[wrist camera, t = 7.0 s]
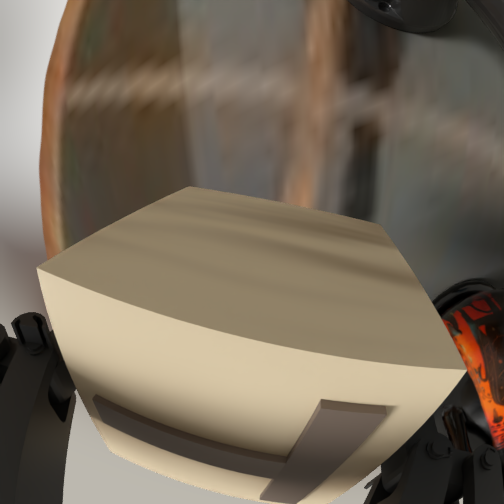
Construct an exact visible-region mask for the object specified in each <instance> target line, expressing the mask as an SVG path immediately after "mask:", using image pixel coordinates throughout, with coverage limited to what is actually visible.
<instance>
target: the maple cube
mask: <svg viewBox="0 0 504 504" xmlns="http://www.w3.org/2000/svg"><path fill="white" fill-rule="evenodd" d="M37 272H38V277H39V281H40V285H41V289H42V293H43V297H44V301H45V304H46V308H47V311H48V315H49V318H50V321H51V325H52V328H53V331H54V334H55V337H56V339H57V342H58V345H59V348H60V350H61V353H62V356H63V358H64V361H65V363H66V366H67V368H68V371H69V373H70V375H71V378H72V380H73V382H74V384H75V387H76V389H77V391H78V393H79V395H80V397H81V399H82V401H83V403H84V405H85V407H86V409H87V411H88V413H89V415H90V417H91V419H92V421H93V423H94V424H95V426H96V428H97V430H98V431H99V433H100V435H101V437H102V438H103V440H104V442H105V443H106V445H107V447H108V448H109V450H110V451H111V452H112V453H114V454H116V455H118V456H120V457H122V458H124V459H126V460H128V461H131V462H133V463H135V464H137V465H140V466H142V467H144V468H146V469H149V470H151V471H154V472H156V473H159V474H161V475H164V476H167V477H169V478H172V479H175V480H178V481H181V482H183V483H187V484H190V485H193V486H196V487H199V488H203V489H206V490H209V491H214V492H217V493H221V494H225V495H229V496H233V497H238V498H243V499H247V500H253V501H259V502H265V503H271V504H328V503H330V502H331V501H333V500H334V499H336V498H337V497H339V496H340V495H342V494H343V493H344V492H346V491H347V490H349V489H350V488H351V487H353V486H354V485H356V484H357V483H358V482H360V481H361V480H362V479H364V478H365V477H366V476H367V475H369V474H370V473H371V472H372V471H374V470H375V469H376V468H377V467H378V466H380V465H381V464H382V463H383V462H384V461H385V460H387V459H388V458H389V457H390V456H391V455H392V454H393V453H394V452H396V451H397V450H398V449H399V448H400V447H401V446H402V445H403V444H404V443H405V442H406V441H407V440H408V439H409V438H410V437H411V436H412V435H413V434H414V433H415V432H416V431H417V430H418V429H419V428H420V427H421V426H422V425H423V424H424V423H425V422H426V421H427V419H428V418H429V417H430V416H431V415H432V414H433V413H434V412H435V410H436V409H437V408H438V407H439V406H440V405H441V403H442V402H443V401H444V400H445V399H446V397H447V396H448V395H449V394H450V392H451V391H452V390H453V389H454V387H455V386H456V385H457V383H458V382H459V381H460V379H461V378H462V377H463V375H464V374H465V373H466V371H467V368H466V366H465V364H464V362H463V360H462V358H461V355H460V353H459V351H458V349H457V347H456V345H455V344H454V342H453V340H452V338H451V336H450V334H449V332H448V330H447V328H446V327H445V325H444V323H443V321H442V319H441V317H440V316H439V314H438V312H437V310H436V309H435V307H434V305H433V304H432V302H431V300H430V299H429V297H428V295H427V294H426V292H425V290H424V289H423V287H422V285H421V284H420V282H419V281H418V279H417V277H416V276H415V274H414V273H413V271H412V270H411V268H410V267H409V265H408V264H407V262H406V261H405V259H404V258H403V256H402V255H401V253H400V252H399V250H398V249H397V248H396V246H395V245H394V243H393V242H392V240H391V239H390V238H389V236H388V235H387V233H386V232H385V231H384V229H383V228H382V227H381V225H379V224H375V223H371V222H367V221H363V220H359V219H355V218H350V217H346V216H342V215H337V214H333V213H329V212H324V211H320V210H315V209H310V208H306V207H301V206H296V205H291V204H286V203H281V202H276V201H271V200H266V199H261V198H255V197H250V196H244V195H239V194H233V193H227V192H221V191H215V190H209V189H203V188H196V187H190V186H189V187H186V188H184V189H182V190H180V191H178V192H175V193H173V194H171V195H169V196H167V197H165V198H163V199H160V200H158V201H156V202H154V203H152V204H150V205H148V206H146V207H144V208H142V209H140V210H138V211H136V212H134V213H132V214H130V215H128V216H126V217H124V218H122V219H120V220H118V221H116V222H114V223H113V224H111V225H109V226H107V227H105V228H103V229H101V230H100V231H98V232H96V233H94V234H92V235H91V236H89V237H87V238H85V239H83V240H82V241H80V242H78V243H76V244H75V245H73V246H71V247H70V248H68V249H66V250H64V251H63V252H61V253H59V254H58V255H56V256H54V257H53V258H51V259H50V260H48V261H46V262H45V263H43V264H42V265H40V266H38V267H37Z"/></svg>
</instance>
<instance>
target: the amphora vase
mask: <svg viewBox="0 0 504 504" xmlns="http://www.w3.org/2000/svg"><path fill="white" fill-rule="evenodd" d="M432 304H433V305H434V307H435V309H436V310H437V312H438V314H439V316H440V317H441V319H442V321H443V323H444V325H445V327H446V328H447V330H448V332H449V334H450V336H451V338H452V340H453V342H454V344H455V345H456V347H457V349H458V351H459V353H460V355H461V358H462V360H463V362H464V364H465V366H466V368H467V371H466V373H465V374H464V375H463V377H462V378H461V379H460V381H459V382H458V383H457V385H456V386H455V387H454V389H453V390H452V391H451V392H450V394H449V395H448V396H447V397H446V399H445V400H444V401H443V402H442V403H441V405H440V406H439V407H438V408H437V409H436V410H435V412H434V413H433V415H434V419H435V423H436V427H437V431H438V433H441V434H443V435H445V436H446V437H447V438H448V439H449V440H450V441H451V443H452V445H453V448H454V449H458V450H462V451H467V452H471V453H472V452H473V451H474V450H475V449H477V448H478V447H479V446H480V445H483V444H487V445H491V446H492V447H494V448H495V449H496V450H497V452H498V453H499V456H500V460H501V467H502V477H503V489H504V289H496V288H494V287H493V286H492V285H490V284H489V283H487V282H483V281H479V280H474V281H466V282H463V283H460V284H458V285H455V286H453V287H451V288H449V289H448V290H446V291H445V292H443V293H442V294H440V295H439V296H438V297H436V298H435V299H434V300H433V301H432Z"/></svg>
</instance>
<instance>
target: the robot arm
mask: <svg viewBox="0 0 504 504" xmlns="http://www.w3.org/2000/svg"><path fill="white" fill-rule="evenodd" d="M348 1H349V2H350V3H351V4H352V5H353V6H355V7H356V8H357V9H358V10H360V11H361V12H363V13H364V14H366V15H367V16H369V17H370V18H372V19H374V20H376V21H378V22H380V23H382V24H384V25H387V26H389V27H392V28H395V29H398V30H402V31H407V32H415V33H425V32H431V31H435V30H437V29H439V28H441V27H442V26H443V25H445V24H446V23H447V22H449V21H450V20H451V19H452V17H453V16H454V14H455V12H456V9H457V5H458V0H348ZM466 2H467V3H468V4H469V5H470V6H471V7H472V8H473V10H474V11H475V12H476V13H477V15H478V16H479V17H480V18H481V20H482V21H483V22H484V24H485V25H486V26H487V28H488V29H489V30H490V32H491V33H492V34H493V36H494V37H495V39H496V40H497V42H498V43H499V45H500V46H501V48H502V49H503V51H504V0H466ZM11 324H12V327H13V329H14V332H15V335H16V337H17V339H15V338H12V337H8V334H7V332H6V329H5V327H4V326H3V325H2V324H0V504H62V502H63V486H64V474H65V464H66V456H67V449H68V441H69V436H70V430H71V424H72V418H73V413H74V409H75V404H76V395H75V393H74V391H75V390H76V387H75V384H74V382H73V380H72V378H71V375H70V373H69V371H68V368H67V366H66V363H65V361H64V358H63V356H62V353H61V350H60V348H59V345H58V342H57V339H56V337H55V334H54V331H53V330H52V331H51V332H50V331H49V329H48V325H47V322H46V319H45V317H44V316H42V315H41V314H39V313H36V312H28V313H25V314H22V315H20V316H18V317H17V318H15V319H14V320H13V322H12V323H11ZM371 485H372V487H371V489H370V492H369V494H368V496H367V498H366V500H365V502H364V504H459V499H461V498H463V504H504V489H503V477H502V467H501V460H500V456H499V453H498V452H497V450H496V449H495V448H494V447H492V446H491V445H487V444H483V445H480V446H479V447H478V448H477V449H475V450H474V451H473V452H472V453H471V452H467V451H462V450H458V449H454V448H453V445H452V443H451V441H450V440H449V439H448V438H447V437H446V436H445V435H443V434H441V433H438V431H437V427H436V423H435V419H434V415H433V414H432V415H431V416H430V417H429V418H428V419H427V421H426V422H425V423H424V424H423V425H422V426H421V427H420V428H419V429H418V430H417V431H416V432H415V433H414V434H413V435H412V436H411V437H410V438H409V439H408V440H407V441H406V442H405V443H404V444H403V445H402V446H401V447H400V448H399V449H398V450H397V451H396V452H394V453H393V454H392V455H391V456H390V457H389V458H388V459H387V460H385V461H384V462H383V463H382V464H381V473H380V474H379V475H378V476H377V477H375V478H374V479H373V480H371V481H370V482H369V483H367V485H366V486H365V487H364V488H365V489H367V488H369V487H370V486H371Z"/></svg>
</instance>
